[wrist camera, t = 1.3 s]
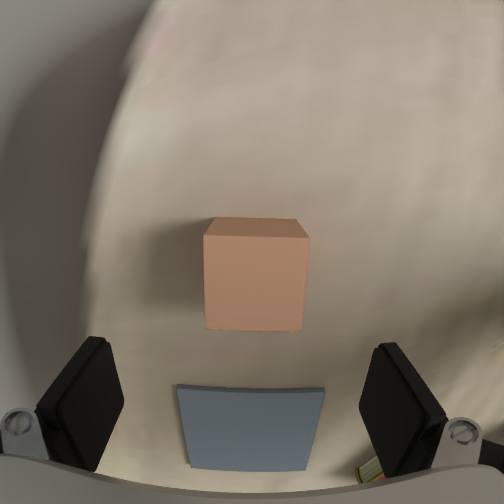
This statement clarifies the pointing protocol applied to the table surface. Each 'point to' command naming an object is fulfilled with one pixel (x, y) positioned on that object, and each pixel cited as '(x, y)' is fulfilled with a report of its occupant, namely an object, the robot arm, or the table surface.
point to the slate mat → (249, 427)
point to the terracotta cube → (255, 274)
